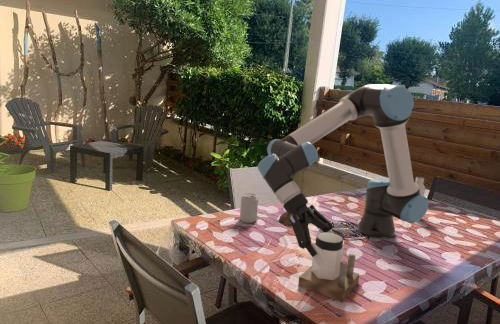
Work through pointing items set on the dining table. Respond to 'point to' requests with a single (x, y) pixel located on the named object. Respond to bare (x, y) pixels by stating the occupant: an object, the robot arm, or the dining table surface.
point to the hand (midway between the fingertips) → (331, 256)
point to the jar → (329, 255)
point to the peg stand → (332, 281)
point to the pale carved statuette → (420, 185)
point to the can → (249, 208)
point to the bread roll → (285, 219)
